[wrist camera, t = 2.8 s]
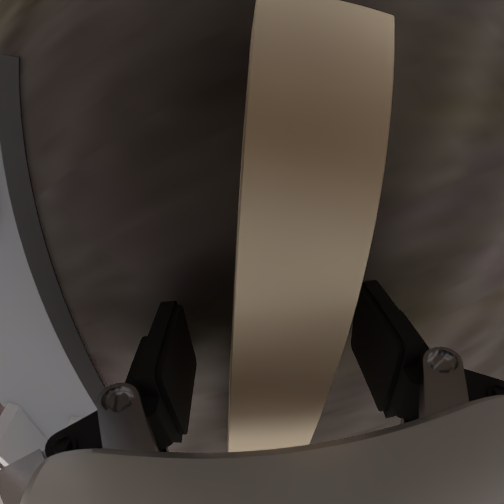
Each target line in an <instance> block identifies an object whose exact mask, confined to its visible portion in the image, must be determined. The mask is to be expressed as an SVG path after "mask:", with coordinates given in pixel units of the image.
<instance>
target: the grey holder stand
mask: <svg viewBox="0 0 504 504" xmlns="http://www.w3.org/2000/svg"><path fill="white" fill-rule="evenodd" d="M104 389H105V387H104V385H103V384H102V382H101V380H100V378H99V376H98V374H97V372H96V370H95V368H94V366H93V364H92V362H91V360H90V358H89V356H88V354H87V352H86V350H85V348H84V346H83V343H82V341H81V339H80V337H79V335H78V332H77V330H76V328H75V325H74V323H73V321H72V318H71V316H70V313H69V311H68V308H67V306H66V303H65V301H64V298H63V296H62V293H61V290H60V287H59V285H58V282H57V279H56V276H55V273H54V270H53V267H52V264H51V261H50V258H49V255H48V251H47V248H46V245H45V241H44V238H43V234H42V231H41V227H40V223H39V219H38V215H37V211H36V207H35V202H34V198H33V193H32V188H31V183H30V178H29V173H28V167H27V161H26V154H25V147H24V140H23V131H22V122H21V110H20V94H19V57H15V56H9V55H3V54H0V403H1V404H2V405H3V407H4V408H5V409H4V411H3V412H2V414H1V416H0V463H1V464H2V465H3V466H7V465H9V464H11V463H13V462H15V461H17V460H19V459H21V458H23V457H24V456H26V455H28V454H30V453H32V452H34V451H36V450H38V449H39V448H40V450H41V451H43V450H45V445H46V443H47V441H48V439H49V438H50V437H51V436H52V435H54V434H55V433H57V432H58V431H60V430H62V429H64V428H66V427H68V426H70V425H71V424H73V423H75V422H77V421H79V420H80V419H82V418H84V417H86V416H88V415H89V414H91V413H93V412H95V411H96V410H97V398H98V396H99V394H100V393H101V392H102V391H103V390H104Z"/></svg>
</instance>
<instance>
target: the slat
mask: <svg viewBox="0 0 504 504" xmlns="http://www.w3.org/2000/svg"><path fill="white" fill-rule="evenodd" d="M393 73H394V16H393V15H390V14H387V13H384V12H381V11H378V10H374V9H371V8H367V7H364V6H360V5H356V4H352V3H348V2H344V1H340V0H256V4H255V11H254V18H253V25H252V33H251V41H250V52H249V64H248V77H247V90H246V103H245V116H244V130H243V144H242V158H241V173H240V189H239V205H238V221H237V238H236V256H235V274H234V293H233V313H232V334H231V357H230V381H229V408H228V438H227V452H242V451H256V450H268V449H278V448H286V447H294V446H302V445H308V444H309V443H310V441H311V438H312V436H313V433H314V431H315V428H316V426H317V423H318V421H319V418H320V416H321V413H322V410H323V408H324V405H325V402H326V400H327V397H328V394H329V391H330V389H331V386H332V383H333V380H334V377H335V374H336V371H337V368H338V365H339V362H340V359H341V356H342V353H343V349H344V346H345V343H346V340H347V336H348V333H349V330H350V326H351V323H352V319H353V316H354V312H355V308H356V305H357V301H358V297H359V293H360V289H361V285H362V281H363V277H364V273H365V269H366V264H367V260H368V256H369V251H370V246H371V242H372V237H373V232H374V227H375V222H376V217H377V211H378V206H379V200H380V194H381V188H382V181H383V175H384V168H385V161H386V153H387V145H388V136H389V127H390V116H391V105H392V91H393Z"/></svg>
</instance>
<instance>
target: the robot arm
mask: <svg viewBox="0 0 504 504" xmlns="http://www.w3.org/2000/svg"><path fill="white" fill-rule="evenodd" d="M351 347H352V350H353V352H354V355H355V357H356V359H357V361H358V364H359V366H360V368H361V371H362V373H363V375H364V377H365V380H366V382H367V384H368V387H369V389H370V391H371V394H372V396H373V399H374V401H375V403H376V406H377V408H378V410H379V411H383V412H384V414H385V417H386V418H389V417H393V416H396V415H397V417H399V418H401V423H400V425H396V426H393V427H389V428H385V429H382V430H378V431H374V432H370V433H365V434H361V435H357V436H352V437H347V438H342V439H337V440H332V441H327V442H321V443H315V444H308V445H302V446H294V447H286V448H278V449H268V450H256V451H242V452H219V453H179V452H169V450H168V446H170V445H171V444H173V442H182V434H187V432H188V424H189V416H190V409H191V401H192V394H193V386H194V379H195V372H196V357H195V353H194V349H193V346H192V342H191V338H190V334H189V330H188V326H187V322H186V318H185V314H184V310H183V306H182V305H181V304H180V305H178V304H177V302H176V301H168V302H161V303H160V306H159V309H158V311H157V314H156V316H155V319H154V322H153V324H152V327H151V329H150V332H149V335H148V336H144V337H142V339H141V341H140V344H139V347H138V349H137V352H136V354H135V357H134V360H133V362H132V365H131V368H130V370H129V373H128V376H127V379H126V381H125V383H116V384H113V385H110V386H108V387H107V388H105V389H104V390H103V391H102V392H101V393H100V394H99V396H98V398H97V410H96V411H95V412H93V413H91V414H89V415H88V416H86V417H84V418H82V419H80V420H79V421H77V422H75V423H73V424H71V425H70V426H68V427H66V428H64V429H62V430H60V431H58V432H57V433H55V434H54V435H52V436H51V437H50V438H49V439H48V441H47V443H46V445H45V450H43V451H41V450H40V448H39V449H38V450H36V451H34V452H32V453H30V454H28V455H26V456H24V457H23V458H21V459H19V460H17V461H15V462H13V463H11V464H9V465H7V466H5V467H4V468H2V469H1V470H0V495H1V499H2V501H3V504H504V381H503V380H499V379H496V378H493V377H489V376H486V375H483V374H479V373H476V372H473V371H469V370H466V369H464V368H463V363H462V360H461V357H460V356H459V355H458V354H457V353H456V352H455V351H453V350H452V349H449V348H446V347H434V348H431V349H429V347H428V346H427V345H426V343H425V342H424V340H423V339H422V338H421V336H420V335H419V333H418V332H417V331H416V329H415V328H414V327H413V325H412V324H411V323H410V321H409V320H408V319H407V317H406V316H405V315H404V313H403V312H402V311H401V310H399V309H398V308H397V306H396V305H395V304H394V302H393V301H392V300H391V298H390V297H389V296H388V294H387V293H386V292H385V291H384V289H383V288H382V287H381V285H380V284H379V283H378V282H377V281H376V280H372V281H365V282H362V285H361V289H360V293H359V297H358V301H357V305H356V308H355V312H354V319H353V328H352V337H351Z"/></svg>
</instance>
